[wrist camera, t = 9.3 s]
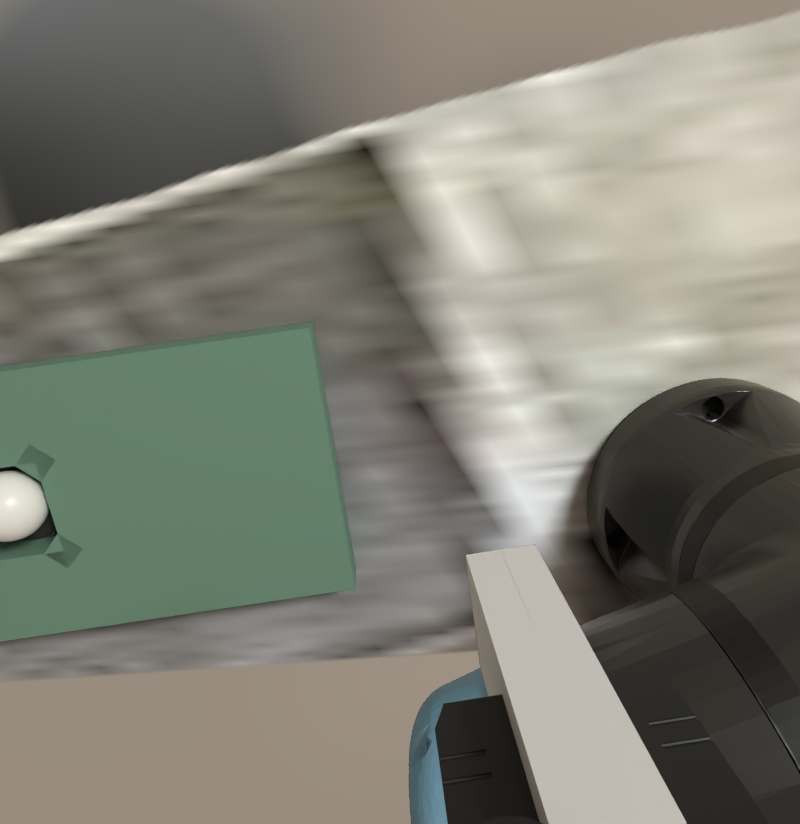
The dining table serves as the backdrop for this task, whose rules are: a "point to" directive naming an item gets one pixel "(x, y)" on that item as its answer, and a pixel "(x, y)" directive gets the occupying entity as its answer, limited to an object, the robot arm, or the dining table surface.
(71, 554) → the putting mat
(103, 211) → the dining table surface
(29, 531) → the golf ball
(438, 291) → the dining table surface
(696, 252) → the dining table surface
